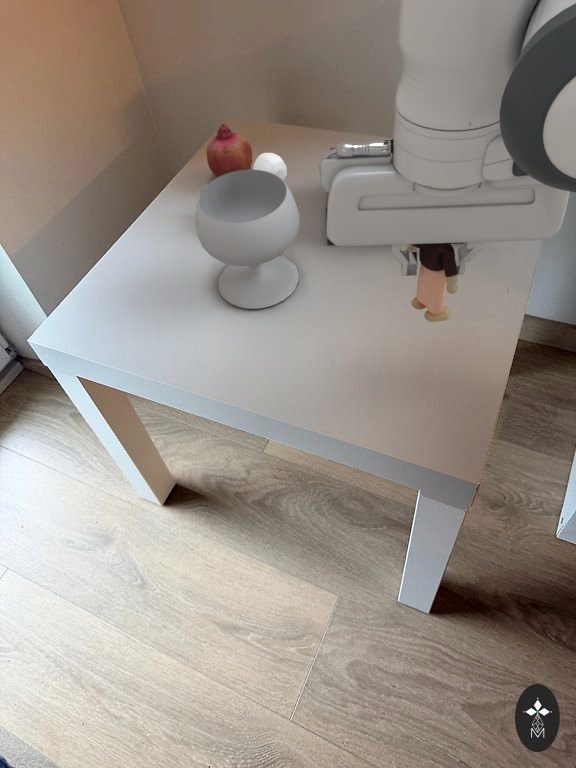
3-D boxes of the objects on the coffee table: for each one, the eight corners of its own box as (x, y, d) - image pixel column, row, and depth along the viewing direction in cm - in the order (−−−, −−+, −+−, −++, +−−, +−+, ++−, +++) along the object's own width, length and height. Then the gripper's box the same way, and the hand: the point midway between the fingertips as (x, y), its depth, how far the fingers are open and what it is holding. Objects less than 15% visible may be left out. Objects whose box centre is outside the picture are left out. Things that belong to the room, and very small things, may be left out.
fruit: (203, 186, 97) (189, 133, 89) (227, 162, 101) (216, 109, 93) (240, 195, 95) (230, 142, 87) (263, 171, 98) (255, 117, 90)
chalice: (194, 292, 81) (166, 207, 69) (252, 240, 87) (236, 153, 75) (266, 329, 75) (249, 244, 63) (323, 270, 81) (318, 182, 69)
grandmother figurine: (468, 315, 56) (492, 213, 46) (442, 334, 55) (460, 235, 45) (414, 278, 60) (425, 177, 50) (389, 295, 59) (395, 195, 49)
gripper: (315, 167, 42) (325, 295, 53) (596, 152, 39) (545, 291, 50) (320, 124, 46) (328, 252, 57) (577, 108, 43) (533, 247, 54)
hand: (431, 271), depth 53 cm, fingers closed on grandmother figurine, 3 cm apart
